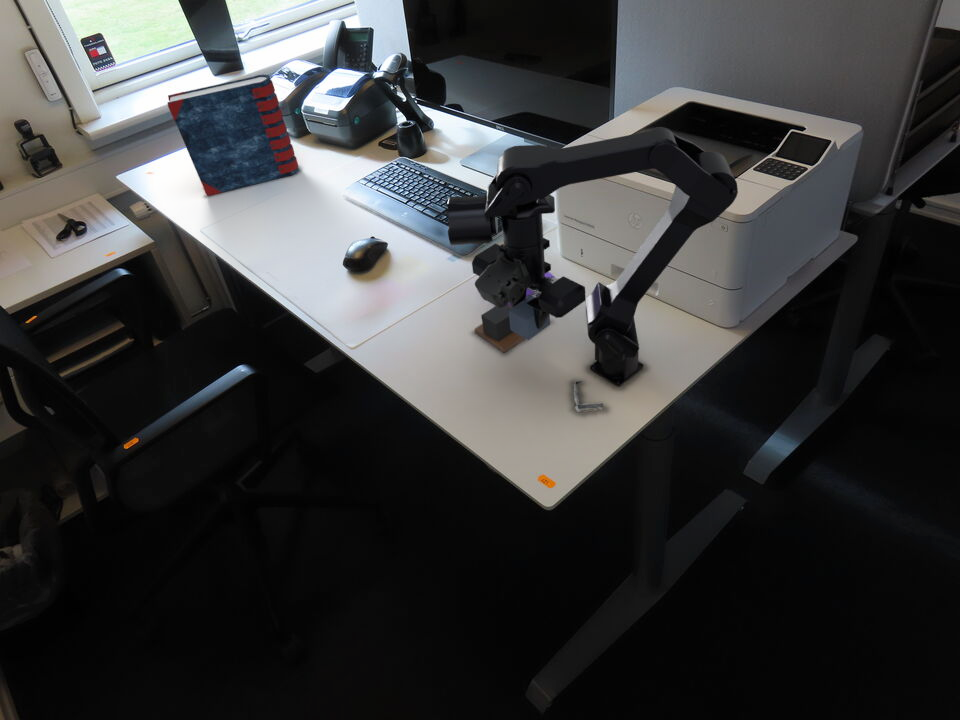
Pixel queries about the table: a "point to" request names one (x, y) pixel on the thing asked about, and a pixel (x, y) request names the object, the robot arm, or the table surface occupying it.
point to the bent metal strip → (585, 406)
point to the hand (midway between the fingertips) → (530, 322)
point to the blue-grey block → (525, 320)
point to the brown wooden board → (502, 344)
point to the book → (234, 133)
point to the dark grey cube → (497, 322)
